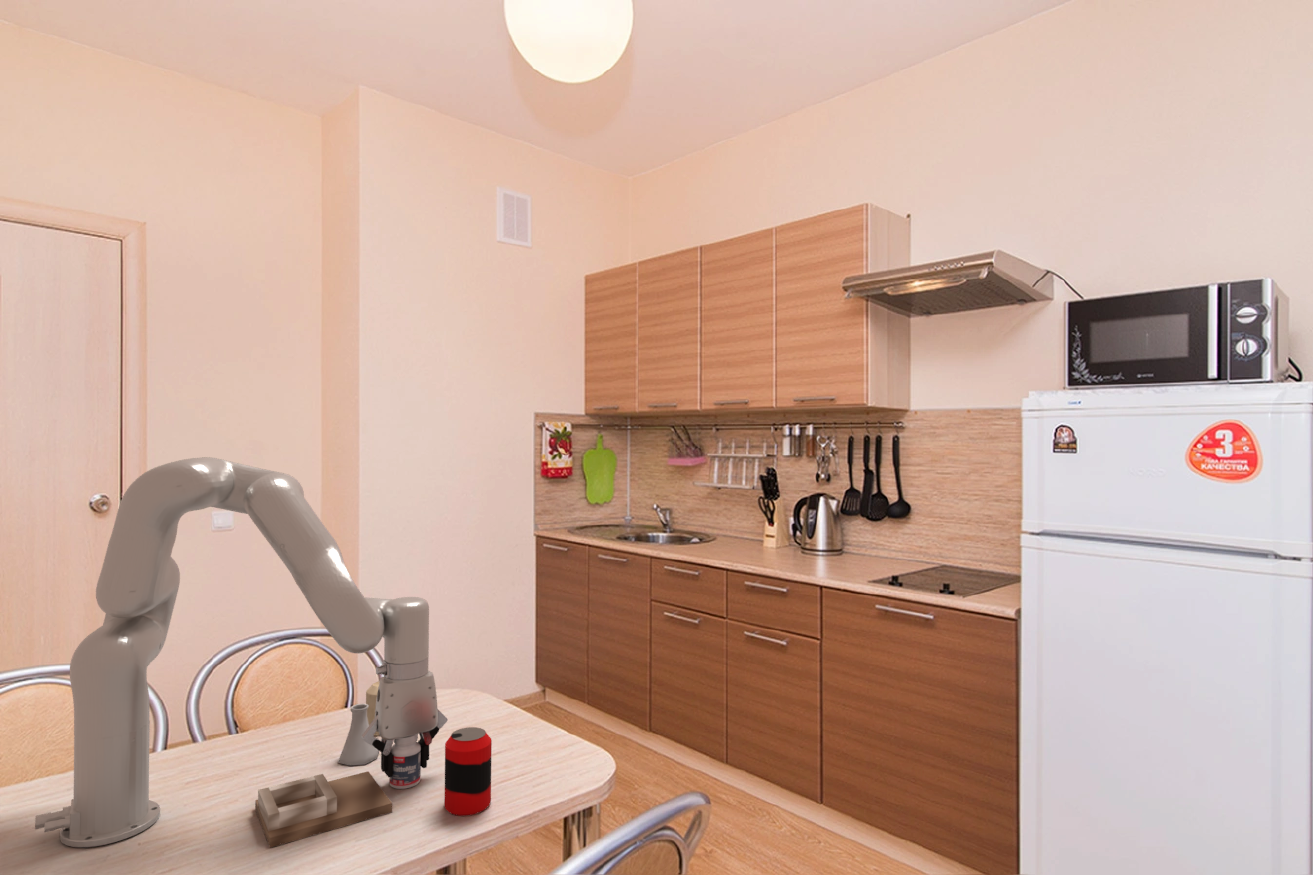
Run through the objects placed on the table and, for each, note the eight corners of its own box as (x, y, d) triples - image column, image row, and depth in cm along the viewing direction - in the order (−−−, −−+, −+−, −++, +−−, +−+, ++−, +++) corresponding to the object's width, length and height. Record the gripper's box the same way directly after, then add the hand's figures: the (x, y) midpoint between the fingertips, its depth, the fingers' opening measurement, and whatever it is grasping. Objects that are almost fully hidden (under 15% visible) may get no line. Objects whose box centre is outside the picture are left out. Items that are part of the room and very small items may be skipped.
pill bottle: (388, 791, 127) (388, 740, 127) (390, 777, 132) (391, 728, 132) (419, 787, 128) (420, 737, 128) (421, 774, 133) (421, 725, 133)
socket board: (269, 847, 109) (270, 821, 109) (255, 809, 120) (255, 784, 120) (392, 811, 120) (392, 787, 120) (368, 779, 131) (368, 757, 131)
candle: (399, 729, 153) (399, 682, 153) (376, 738, 149) (377, 689, 149) (382, 723, 156) (383, 677, 156) (359, 732, 152) (360, 684, 152)
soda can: (441, 799, 124) (442, 728, 124) (486, 790, 127) (487, 722, 127) (447, 820, 117) (448, 746, 117) (494, 811, 120) (495, 738, 120)
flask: (385, 751, 143) (386, 700, 143) (367, 767, 136) (368, 714, 136) (350, 749, 143) (351, 698, 144) (330, 765, 136) (331, 712, 136)
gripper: (362, 683, 122) (361, 791, 122) (460, 665, 132) (459, 764, 132) (350, 671, 128) (349, 774, 128) (445, 654, 138) (444, 750, 138)
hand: (405, 768), depth 130 cm, fingers closed on pill bottle, 5 cm apart
